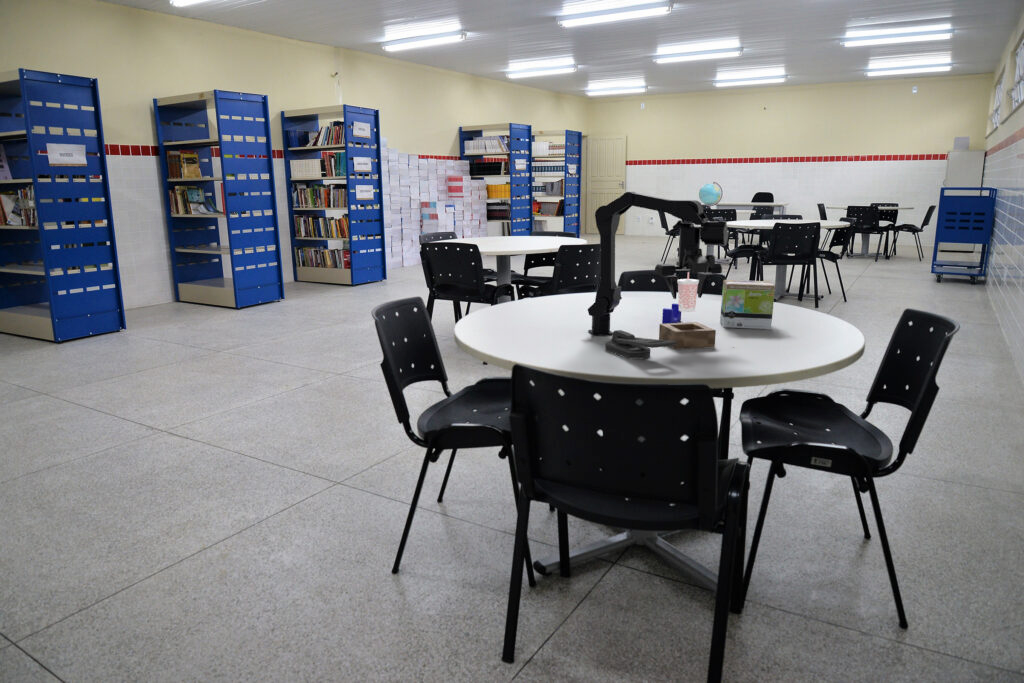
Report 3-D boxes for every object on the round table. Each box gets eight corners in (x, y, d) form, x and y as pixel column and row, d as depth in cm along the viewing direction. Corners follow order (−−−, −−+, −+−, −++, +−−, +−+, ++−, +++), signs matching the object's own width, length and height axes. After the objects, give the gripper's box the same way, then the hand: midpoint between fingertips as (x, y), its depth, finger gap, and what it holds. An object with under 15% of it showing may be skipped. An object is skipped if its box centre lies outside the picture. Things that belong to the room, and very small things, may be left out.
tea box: (723, 328, 220) (726, 283, 217) (719, 322, 230) (722, 279, 226) (771, 330, 217) (775, 284, 214) (766, 323, 227) (769, 280, 224)
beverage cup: (680, 312, 196) (682, 264, 193) (673, 309, 202) (675, 262, 199) (700, 312, 196) (702, 263, 193) (693, 308, 202) (695, 261, 199)
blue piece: (668, 320, 235) (668, 303, 234) (680, 321, 233) (681, 304, 232) (657, 326, 225) (658, 308, 224) (670, 327, 223) (671, 309, 221)
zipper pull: (651, 344, 171) (601, 326, 193) (650, 369, 172) (600, 348, 195) (680, 341, 174) (628, 323, 197) (679, 366, 176) (627, 345, 198)
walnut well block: (658, 340, 204) (659, 323, 203) (695, 338, 207) (696, 322, 205) (675, 349, 193) (676, 332, 192) (714, 347, 195) (715, 330, 194)
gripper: (671, 248, 185) (669, 304, 189) (733, 245, 189) (730, 301, 192) (654, 245, 196) (653, 298, 199) (713, 242, 200) (711, 295, 203)
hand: (687, 298), depth 198 cm, fingers closed on beverage cup, 8 cm apart
